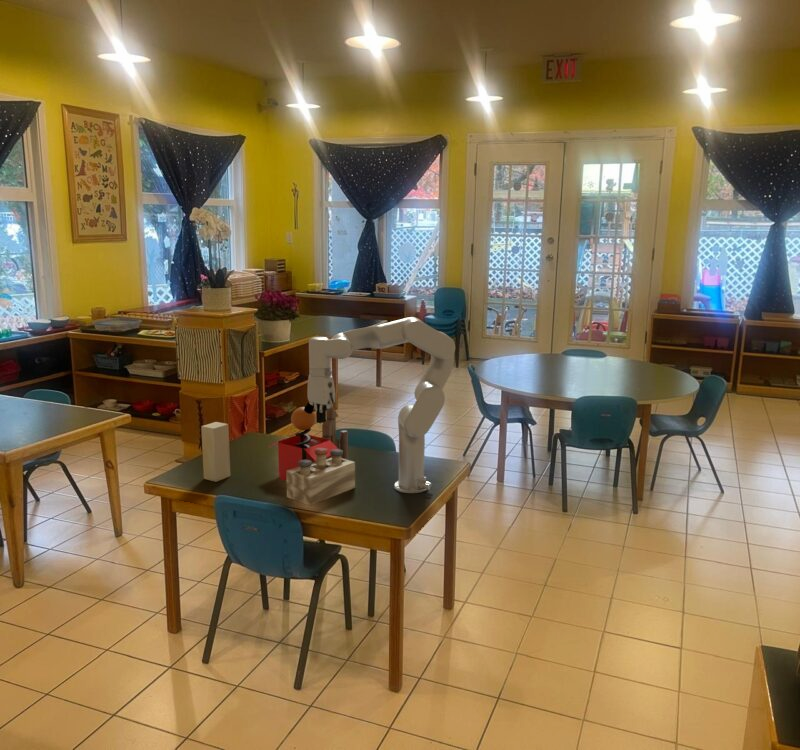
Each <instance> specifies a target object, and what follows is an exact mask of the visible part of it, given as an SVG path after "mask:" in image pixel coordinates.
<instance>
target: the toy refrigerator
mask: <svg viewBox="0 0 800 750" xmlns="http://www.w3.org/2000/svg"><path fill="white" fill-rule="evenodd" d="M200 427H201V428H200V429H201V430H200V431H201V444H202V445H201V446H202V447H201V448H202V449H201V450H202V467H203V469H202V470H203V478H204V480H208V481H211V482H220V481H223V480H225V479H227V478H229V477H231V460H230V459H231V458H230V456H231V455H230V433H229V428H230V427H229V424H228V423H225V422H219V421H214V422H211V423H208V424H205V425H201V426H200Z"/></svg>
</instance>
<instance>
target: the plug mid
mask: <svg viewBox="0 0 800 750" xmlns="http://www.w3.org/2000/svg"><path fill="white" fill-rule="evenodd" d="M315 454H316V469H320V470H323V469H326V454H327V449H326V448H317V449H315Z"/></svg>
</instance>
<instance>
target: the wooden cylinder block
mask: <svg viewBox="0 0 800 750" xmlns="http://www.w3.org/2000/svg"><path fill="white" fill-rule="evenodd" d="M341 460H342V463H340V464H334V463H332V456H328V457H326V469H323V470H320V469H316V461H314V462H312V465H311V466H310V474H309V475H306V476H304V475H301V474H300V466H299V467H296V468H293V469H290V470H287V471H286V477H287V481H286V498H288V499H290V500H294V501H296V502H300V503H302V504H304V505H307V506H313V505H316V504H318V503H320V502H322V501H326V500H327V499H330V498H333V497H335V496H338V495H340V494H343V493H346V492H348V491H350V490H352V489H355V488H356V461H353V460H350V459H348V460H346V459H343V458H341Z"/></svg>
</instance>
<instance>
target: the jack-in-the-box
mask: <svg viewBox="0 0 800 750" xmlns="http://www.w3.org/2000/svg"><path fill="white" fill-rule="evenodd" d="M314 409H315V408H314V406H313V405H311V404H309V401H308V402H307V403H306V405H305V406H300V407H297V408H296V409H294V411H293V412H292V414H291V416H290V421H291V424H292V426H293V427H295V428H296V429H297V430H299V432H296V433H295V434H294V435H292V436H290V437H287V438H284V439H281V440H278V441H276V442H274V443H272V444H270V445H269V446H268V447H267V448H266V449H268V448H271V447H275V446H277V447H278V449H277V451H278V458H277V459H278V479H280V480H282V481H286V482H287V477H286V471H287V470H290V469H293V468H296V467H299V463H298V462H299V461H300V460H311V461H312V462H314V461H316V454H315V449H317V448H326V449H327V454H326V457H328V456H331V455H330V451H331V450H334V449H338V448H337V447H336V446H335V445H334V444H333V443H332V442H331V441H330V440H329V439H324V438H321V437H320V436H315V435H311V434H308V433H309V432H311V430H312V427H314V425H315V423H316V413H315V412H314Z"/></svg>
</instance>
